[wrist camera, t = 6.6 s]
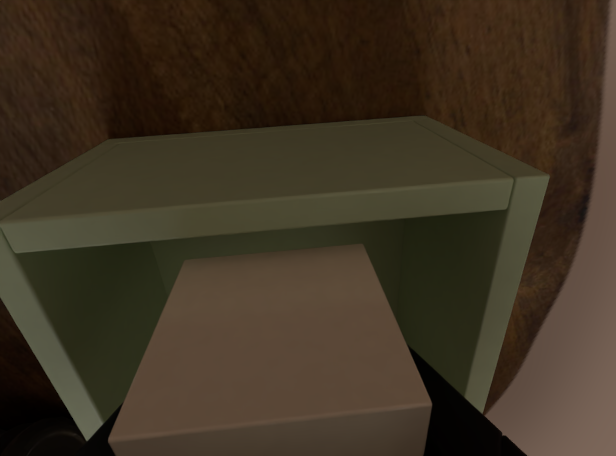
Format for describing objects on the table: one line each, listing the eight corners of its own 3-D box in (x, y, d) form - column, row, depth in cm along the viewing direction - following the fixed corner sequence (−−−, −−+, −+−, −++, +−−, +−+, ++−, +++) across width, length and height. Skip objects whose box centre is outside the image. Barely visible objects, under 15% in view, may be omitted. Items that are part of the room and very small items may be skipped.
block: (363, 242, 9) (434, 404, 5) (360, 365, 11) (409, 548, 7) (183, 258, 8) (104, 442, 5) (216, 381, 11) (182, 577, 7)
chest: (107, 139, 14) (-45, 225, 7) (425, 115, 14) (551, 174, 8) (189, 388, 20) (149, 548, 14) (400, 365, 21) (456, 507, 15)
